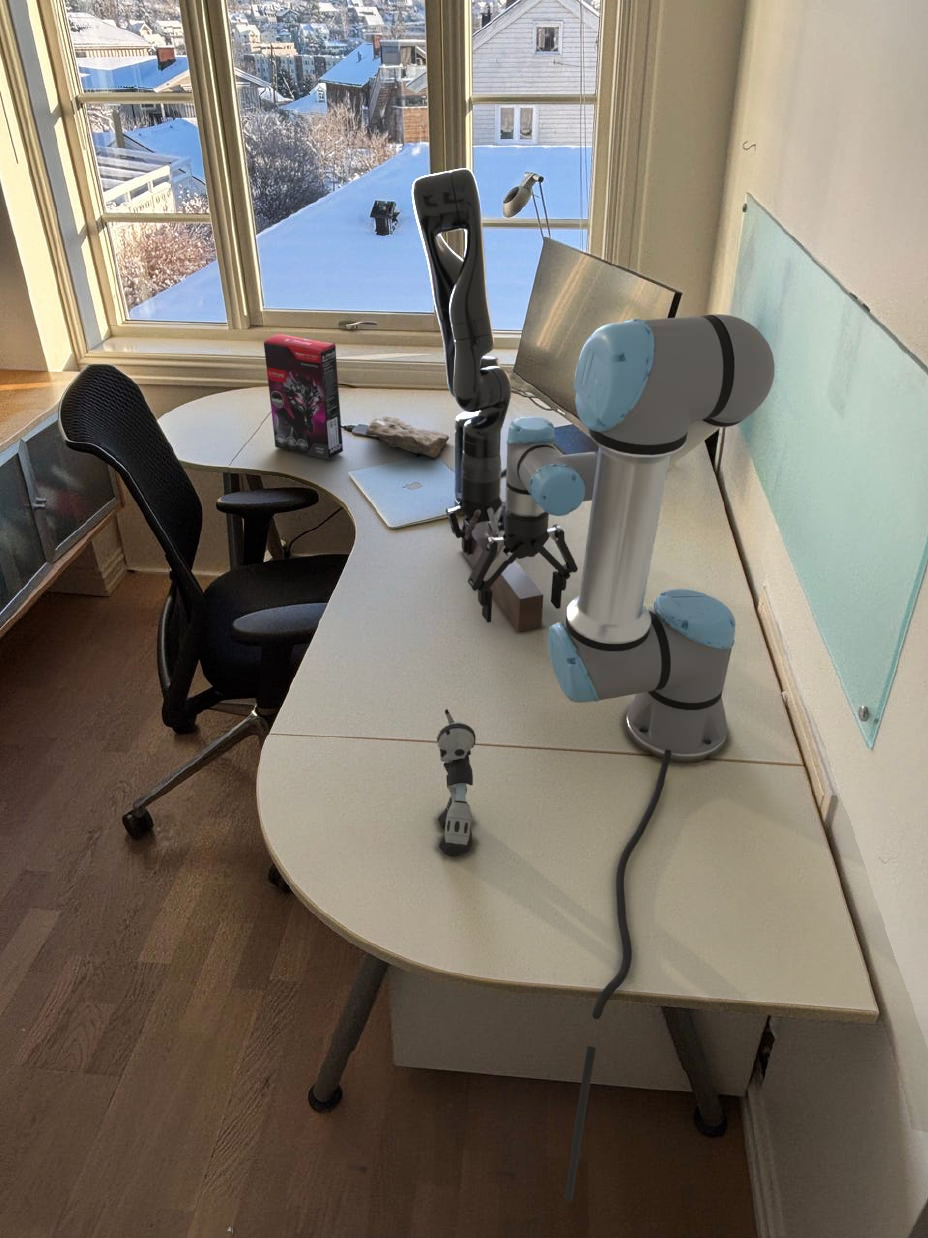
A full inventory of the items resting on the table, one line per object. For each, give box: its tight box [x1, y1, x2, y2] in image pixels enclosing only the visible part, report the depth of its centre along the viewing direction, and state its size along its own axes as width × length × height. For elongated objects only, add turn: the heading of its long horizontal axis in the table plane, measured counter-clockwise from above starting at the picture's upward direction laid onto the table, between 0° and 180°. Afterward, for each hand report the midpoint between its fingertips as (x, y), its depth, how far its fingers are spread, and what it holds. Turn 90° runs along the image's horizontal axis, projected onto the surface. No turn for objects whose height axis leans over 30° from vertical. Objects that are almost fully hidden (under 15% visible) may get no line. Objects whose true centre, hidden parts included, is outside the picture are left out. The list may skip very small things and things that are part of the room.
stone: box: [365, 416, 450, 458], centre depth 231 cm, size 21×15×6 cm
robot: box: [436, 708, 477, 857], centre depth 119 cm, size 20×5×20 cm, turn 3°
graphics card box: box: [263, 333, 344, 460], centre depth 223 cm, size 17×7×27 cm, turn 62°
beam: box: [461, 522, 544, 633], centre depth 176 cm, size 30×4×7 cm, turn 20°
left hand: (479, 550), depth 185 cm, fingers closed on beam, 4 cm apart
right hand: (521, 611), depth 168 cm, fingers open, 13 cm apart
